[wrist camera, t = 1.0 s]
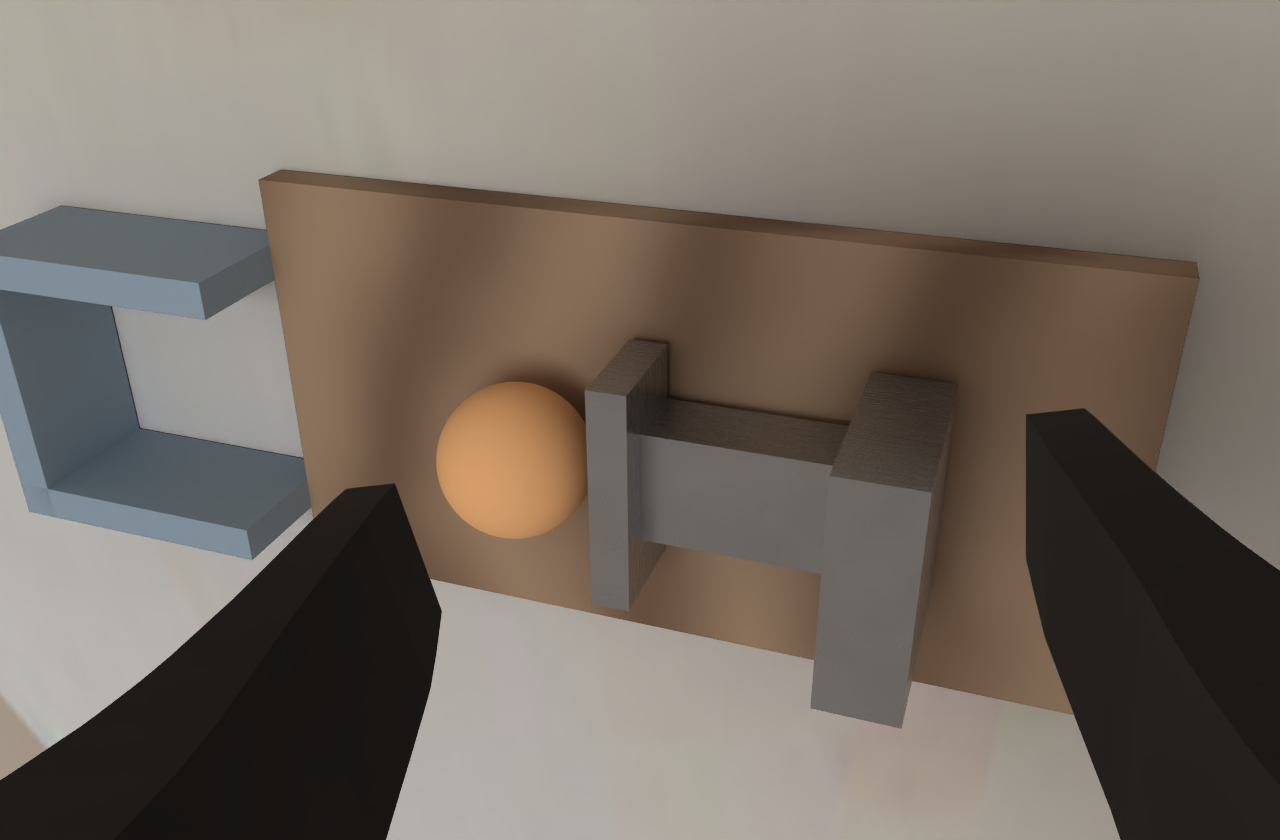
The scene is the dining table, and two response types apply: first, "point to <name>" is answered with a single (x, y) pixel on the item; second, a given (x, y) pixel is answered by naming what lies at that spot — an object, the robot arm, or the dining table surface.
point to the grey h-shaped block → (780, 509)
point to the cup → (99, 389)
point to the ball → (513, 460)
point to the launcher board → (712, 378)
